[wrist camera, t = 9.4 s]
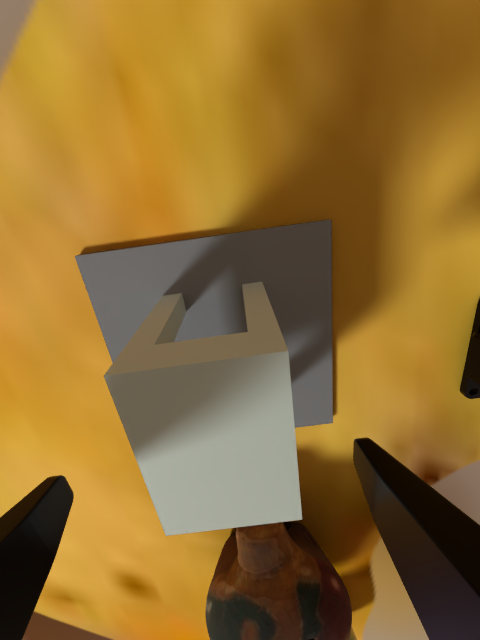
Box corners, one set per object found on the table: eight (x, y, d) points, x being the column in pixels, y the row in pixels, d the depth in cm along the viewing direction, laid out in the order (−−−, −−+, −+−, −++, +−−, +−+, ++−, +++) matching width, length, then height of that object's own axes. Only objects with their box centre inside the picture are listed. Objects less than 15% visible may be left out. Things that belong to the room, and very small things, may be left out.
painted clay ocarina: (240, 601, 26) (236, 756, 19) (185, 482, 21) (149, 627, 14) (347, 589, 25) (388, 750, 17) (314, 459, 20) (350, 604, 13)
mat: (328, 219, 13) (331, 220, 13) (330, 418, 18) (332, 422, 18) (78, 254, 14) (74, 256, 13) (144, 441, 18) (142, 446, 18)
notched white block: (274, 396, 17) (302, 519, 10) (191, 407, 17) (166, 536, 10) (261, 281, 14) (288, 350, 7) (162, 295, 14) (103, 376, 8)
